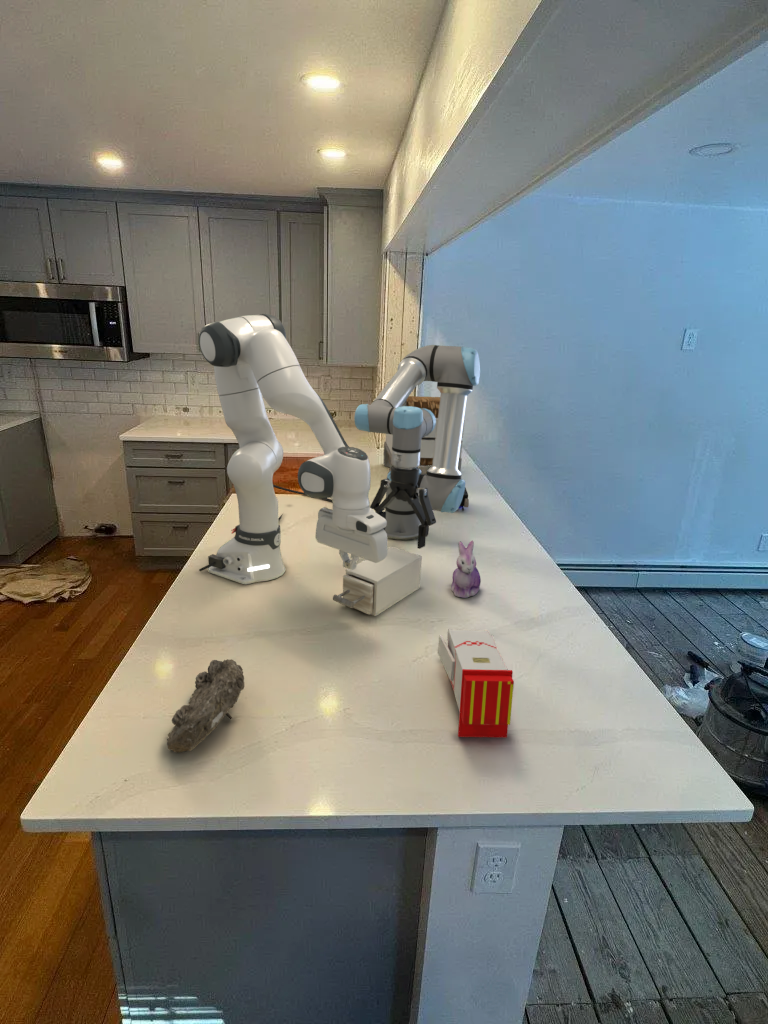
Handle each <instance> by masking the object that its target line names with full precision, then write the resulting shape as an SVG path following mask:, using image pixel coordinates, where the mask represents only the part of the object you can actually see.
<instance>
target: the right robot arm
mask: <svg viewBox="0 0 768 1024" xmlns="http://www.w3.org/2000/svg"><path fill="white" fill-rule="evenodd" d="M480 378H481V362H480V356H479V352H478V350H477V349H475V348H474V347H468V346H459V345H458V346H455V345H438V344H428V345H424V346H421V347H418V348H417V349H414V350H413V351H411V352H409V353H408V354H406V355H405V356H404V358H402V359H401V361H399V364H398V365H397V369H396V372H395V373H394V374H393V376H392V377H391V378H390V380H388V382H387V384H386V385H385V386H384V387H383V389H382V390H381V391H380V392H379V393H378V395H377V396H376V397H375V398H374V400H373V401H372V402H371V404H369V403H362V404H359V405H358V406H357V407H356V409H355V411H354V425H355V427H356V429H357V430H359V431H362V432H367V433H375V434H383V435H386V434H392V435H393V439H392V459H391V464H392V465H393V466H392V467H391V471H390V470H389V472H388V473H387V475H386V478H384V479H381V480H380V484H379V488H378V490H377V492H376V494H375V496H374V497H373V500H372V501H371V503H370V508H371V509H373V510H374V511H375V512H376V513H377V514H379V515H380V516H382V517H383V518H385V519H386V521H387V525H386V527H385V528H383V529H384V530H385V532H386V534H387V539H389V540H395V541H410V540H415V539H417V548H416V549H419V550H420V549H422V548H425V547H426V540H427V539H426V538H427V537H428V536H429V534H430V533H429V532H430V526H433V525H435V524H436V523H437V518H436V516H435V513H434V511H435V512H441V513H447V514H448V513H449V514H453V513H456V512H457V511H458V509H460V508H459V506H460V504H461V501H462V498H463V495H464V491H465V487H466V480H465V479H462V473H460V471H459V470H458V462H459V454H460V446H461V440H462V439H463V438H462V431H463V423H464V424H465V421H464V420H465V416H466V415H465V414H466V406H467V401H468V400H467V399H468V396H469V394H471V393H472V392H473V389H474V387H476V386H478V385H479V383H480ZM423 382H432V383H433V382H434V383H436V388H437V390H438V391H439V393H440V396H439V397H440V405H439V413H438V421H437V430H436V438H435V446H434V455H433V463H432V465H430V466H429V468H428V469H427V470H426V474H425V473H422V469H421V468H419V467H420V466H419V465H420V449H421V438H423V437H425V436H428V435H429V434H430V433H431V432H432V431H433V430H434V428H435V425H436V419H435V416H434V414H433V413H432V412H431V411H430V410H428V409H424V408H422V409H421V408H418V407H412V406H402V405H403V404H404V402H405V401H406V399H407V398H408V397H409V396H411V394H412V392H414V390H415V389H416V387H418V386H420V385H421V384H422V383H423ZM401 406H402V407H401ZM273 488H275V489H278V490H282V491H286V492H289V493H294V494H297V495H301V496H306V497H309V496H308V495H306V494H305V493H304V492H303V491H297V490H295V489H290V488H286V487H283V486H280V485H279V486H278V485H276V484H273ZM384 497H385V499H384ZM318 499H320V500H323V501H327V502H331V503H333V501H332V499H331V498H318ZM456 510H457V511H456Z"/></svg>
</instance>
